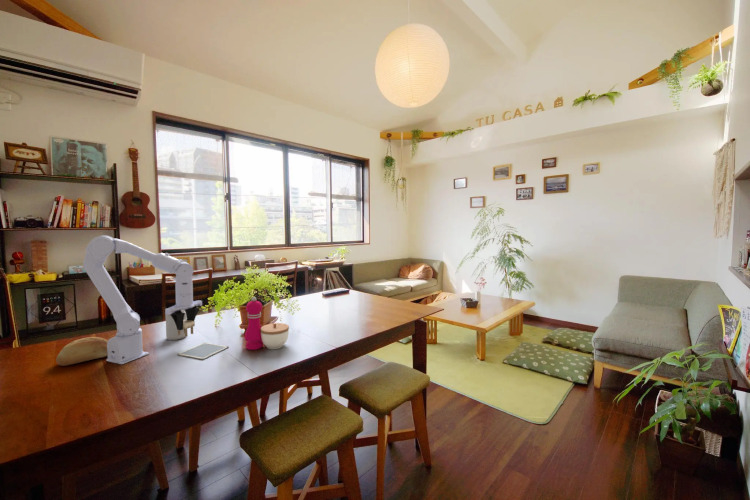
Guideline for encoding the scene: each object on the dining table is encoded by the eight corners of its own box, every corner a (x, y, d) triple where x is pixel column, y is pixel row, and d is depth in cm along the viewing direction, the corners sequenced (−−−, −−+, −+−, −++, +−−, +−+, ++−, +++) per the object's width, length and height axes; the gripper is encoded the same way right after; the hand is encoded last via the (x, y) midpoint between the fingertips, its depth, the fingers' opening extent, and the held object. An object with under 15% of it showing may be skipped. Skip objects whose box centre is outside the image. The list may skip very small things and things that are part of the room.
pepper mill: (258, 351, 120) (257, 299, 119) (240, 349, 121) (240, 298, 120) (267, 344, 127) (267, 295, 126) (250, 342, 129) (250, 294, 127)
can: (191, 335, 136) (190, 307, 135) (178, 341, 129) (177, 312, 128) (175, 334, 137) (174, 307, 136) (161, 340, 130) (160, 311, 129)
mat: (202, 360, 112) (202, 358, 112) (177, 355, 116) (177, 353, 116) (228, 347, 123) (228, 346, 123) (204, 343, 127) (204, 342, 127)
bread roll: (116, 358, 112) (115, 336, 112) (57, 372, 101) (55, 348, 101) (112, 350, 119) (111, 330, 118) (56, 362, 108) (54, 340, 107)
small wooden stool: (194, 333, 124) (194, 321, 124) (185, 336, 120) (185, 324, 120) (185, 331, 126) (184, 319, 125) (176, 335, 122) (175, 322, 121)
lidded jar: (254, 348, 123) (254, 324, 122) (274, 339, 133) (274, 317, 132) (275, 353, 118) (275, 329, 118) (294, 344, 128) (294, 321, 127)
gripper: (174, 298, 114) (175, 335, 115) (207, 290, 127) (208, 323, 128) (160, 296, 116) (161, 332, 117) (194, 289, 129) (195, 321, 131)
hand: (185, 327), depth 123 cm, fingers closed on small wooden stool, 4 cm apart
